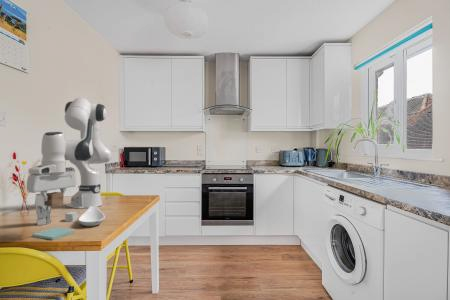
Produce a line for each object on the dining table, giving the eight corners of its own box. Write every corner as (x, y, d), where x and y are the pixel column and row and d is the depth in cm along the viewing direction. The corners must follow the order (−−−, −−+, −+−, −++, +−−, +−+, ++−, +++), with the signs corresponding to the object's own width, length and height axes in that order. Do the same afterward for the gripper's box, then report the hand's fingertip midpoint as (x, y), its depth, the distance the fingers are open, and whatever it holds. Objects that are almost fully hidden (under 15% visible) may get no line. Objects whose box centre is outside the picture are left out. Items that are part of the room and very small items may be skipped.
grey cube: (65, 221, 131) (65, 213, 131) (70, 219, 135) (70, 212, 135) (72, 221, 131) (72, 214, 131) (77, 219, 135) (77, 212, 135)
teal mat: (32, 236, 108) (32, 234, 108) (55, 229, 118) (55, 227, 118) (52, 239, 104) (52, 237, 104) (74, 232, 114) (74, 230, 114)
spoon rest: (105, 226, 123) (105, 212, 123) (77, 230, 117) (77, 214, 117) (104, 215, 144) (104, 203, 144) (81, 218, 139) (81, 205, 139)
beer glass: (33, 226, 123) (33, 195, 123) (36, 222, 129) (36, 193, 129) (50, 224, 126) (50, 194, 126) (52, 221, 132) (52, 192, 132)
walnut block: (44, 205, 109) (44, 193, 109) (55, 203, 114) (55, 192, 114) (52, 206, 108) (52, 194, 108) (63, 203, 112) (63, 192, 112)
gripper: (70, 166, 122) (70, 195, 122) (24, 169, 103) (24, 203, 103) (79, 167, 120) (79, 196, 120) (34, 170, 100) (34, 204, 100)
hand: (53, 199), depth 111 cm, fingers closed on walnut block, 5 cm apart
